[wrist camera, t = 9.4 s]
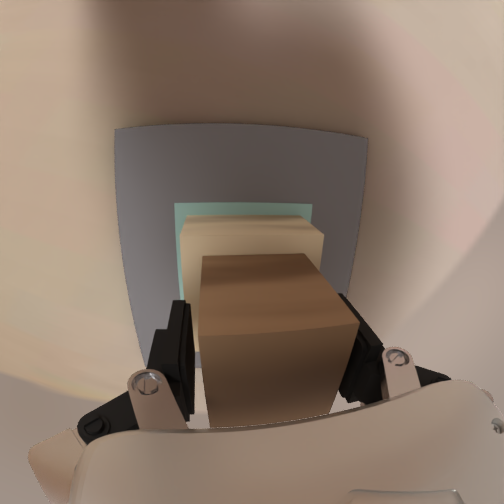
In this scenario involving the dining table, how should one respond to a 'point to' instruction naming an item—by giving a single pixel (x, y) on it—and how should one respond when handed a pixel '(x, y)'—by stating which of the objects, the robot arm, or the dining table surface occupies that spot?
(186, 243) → the maple block
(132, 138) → the build mat
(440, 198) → the dining table surface
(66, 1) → the dining table surface
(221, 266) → the walnut block
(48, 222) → the dining table surface
